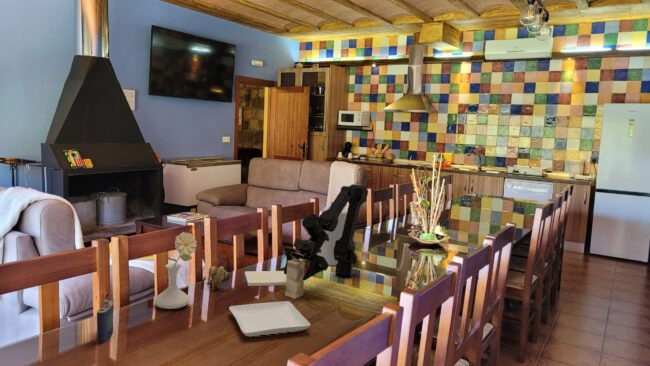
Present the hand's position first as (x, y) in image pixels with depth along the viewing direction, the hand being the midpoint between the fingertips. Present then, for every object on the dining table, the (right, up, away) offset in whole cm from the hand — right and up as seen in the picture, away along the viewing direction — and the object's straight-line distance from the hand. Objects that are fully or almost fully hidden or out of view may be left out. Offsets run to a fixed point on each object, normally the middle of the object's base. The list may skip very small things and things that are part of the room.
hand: (293, 276), depth 177 cm
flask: (-51, -9, -41) cm, 66 cm away
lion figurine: (-30, -5, +6) cm, 31 cm away
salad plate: (-7, -11, -25) cm, 28 cm away
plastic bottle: (+15, -2, +49) cm, 51 cm away
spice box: (0, -7, +2) cm, 7 cm away
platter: (-11, -4, +17) cm, 21 cm away
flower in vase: (-39, -7, -15) cm, 42 cm away
